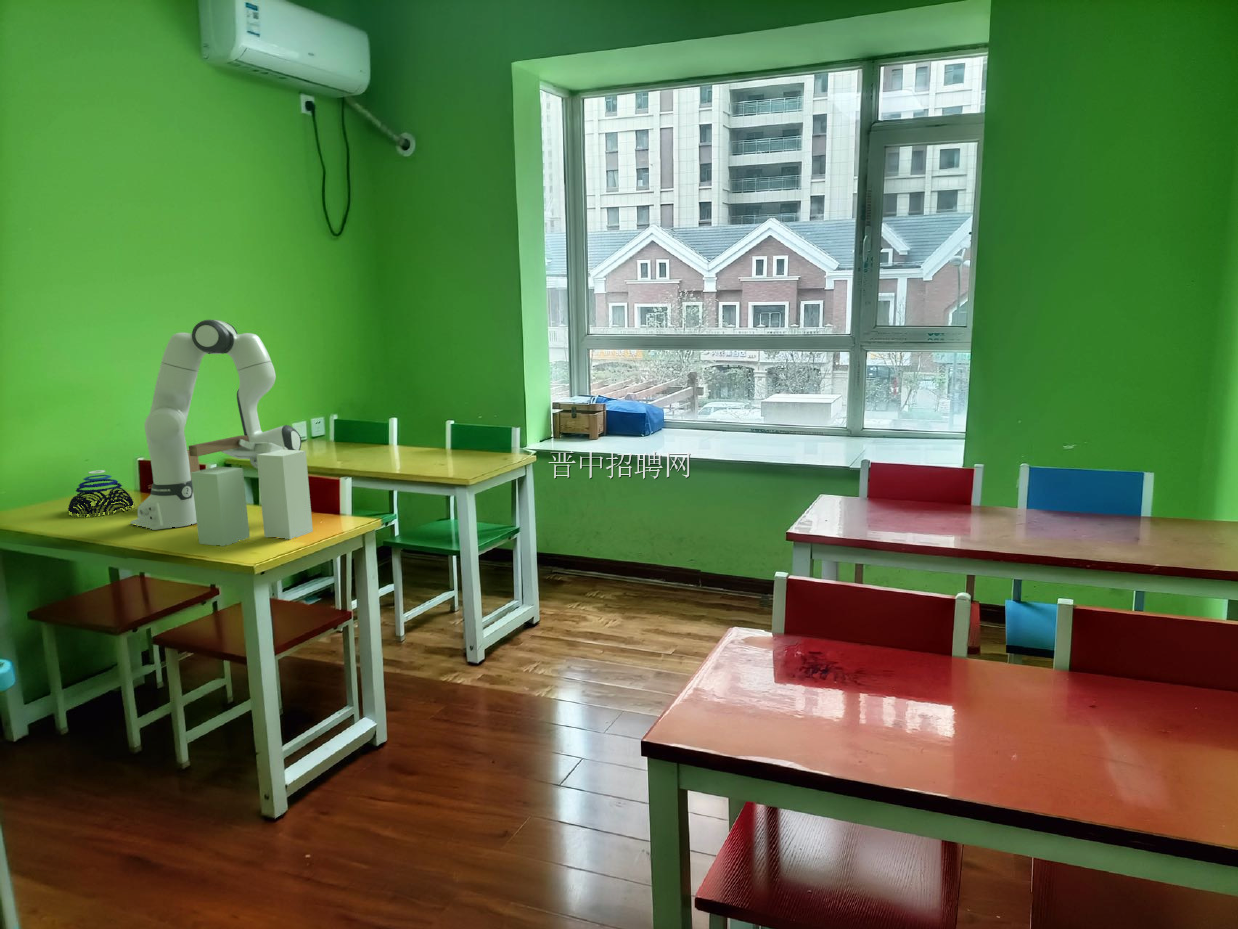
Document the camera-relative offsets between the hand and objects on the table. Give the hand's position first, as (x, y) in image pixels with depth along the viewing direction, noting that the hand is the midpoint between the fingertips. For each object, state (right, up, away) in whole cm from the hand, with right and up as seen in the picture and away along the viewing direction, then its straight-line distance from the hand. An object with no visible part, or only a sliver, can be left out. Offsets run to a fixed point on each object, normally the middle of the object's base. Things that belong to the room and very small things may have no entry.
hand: (233, 441), depth 260 cm
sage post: (-2, -30, -1) cm, 31 cm away
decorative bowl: (-67, -24, +42) cm, 83 cm away
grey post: (+15, -29, +5) cm, 33 cm away
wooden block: (-40, -22, +47) cm, 66 cm away
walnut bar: (-2, -3, -4) cm, 6 cm away
